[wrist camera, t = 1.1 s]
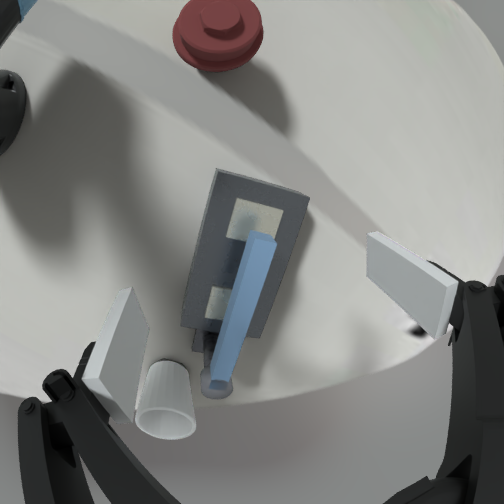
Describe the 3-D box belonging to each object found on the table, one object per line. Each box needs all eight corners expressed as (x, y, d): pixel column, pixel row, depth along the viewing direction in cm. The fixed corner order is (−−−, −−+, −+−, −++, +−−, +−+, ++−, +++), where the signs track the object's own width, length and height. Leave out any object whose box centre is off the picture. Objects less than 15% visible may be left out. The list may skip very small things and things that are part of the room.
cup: (205, 374, 49) (209, 428, 38) (169, 394, 50) (167, 445, 38) (168, 344, 45) (163, 399, 34) (132, 367, 46) (122, 419, 35)
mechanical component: (217, 12, 28) (266, 55, 32) (163, 54, 29) (212, 98, 33) (225, -33, 17) (292, 21, 20) (147, 18, 18) (217, 76, 22)
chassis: (182, 307, 43) (180, 327, 38) (216, 168, 37) (218, 171, 32) (253, 320, 46) (260, 339, 41) (297, 191, 40) (311, 198, 35)
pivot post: (191, 348, 46) (192, 383, 39) (198, 321, 45) (198, 355, 37) (225, 353, 48) (230, 387, 40) (233, 327, 46) (240, 361, 38)
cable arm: (226, 386, 39) (228, 400, 36) (198, 382, 38) (198, 397, 35) (278, 236, 32) (286, 245, 29) (241, 227, 31) (245, 236, 28)
